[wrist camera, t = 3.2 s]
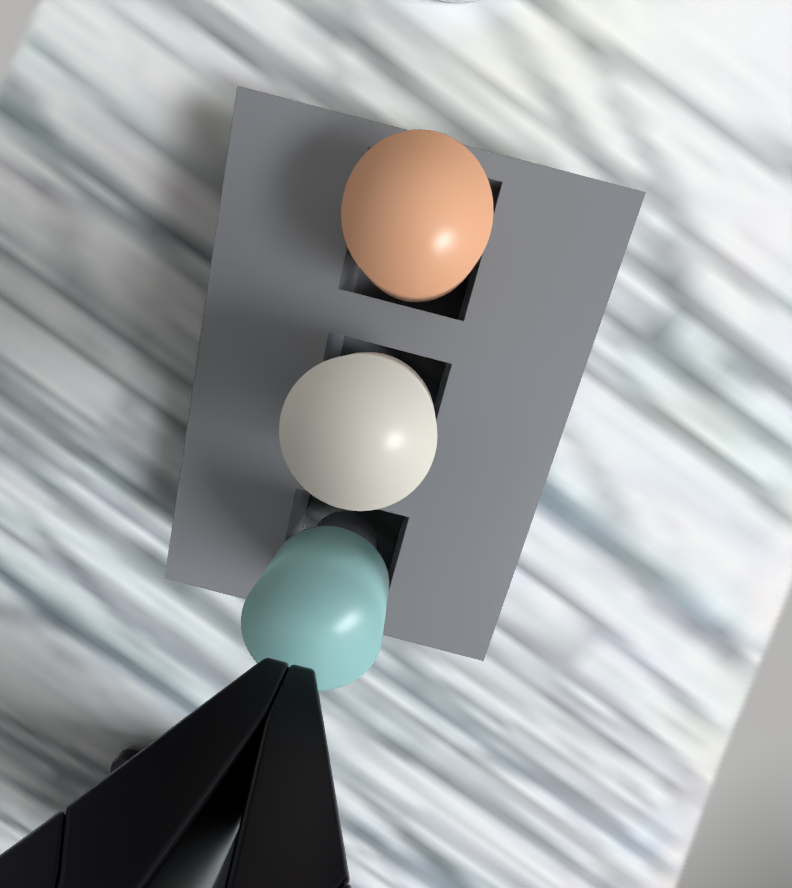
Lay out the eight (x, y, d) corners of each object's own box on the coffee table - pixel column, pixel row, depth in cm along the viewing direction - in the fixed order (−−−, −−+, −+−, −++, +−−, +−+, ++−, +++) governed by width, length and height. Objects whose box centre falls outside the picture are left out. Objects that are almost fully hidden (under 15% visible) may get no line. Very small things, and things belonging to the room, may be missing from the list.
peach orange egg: (454, 319, 13) (469, 311, 9) (356, 294, 13) (326, 274, 9) (483, 212, 12) (513, 151, 8) (380, 185, 12) (360, 111, 8)
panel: (474, 610, 15) (483, 660, 13) (204, 540, 15) (164, 578, 13) (602, 220, 12) (645, 192, 10) (273, 134, 12) (237, 86, 10)
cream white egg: (417, 467, 12) (414, 527, 8) (315, 441, 12) (265, 488, 8) (445, 365, 12) (456, 378, 8) (338, 337, 12) (295, 336, 8)
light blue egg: (381, 597, 13) (364, 705, 9) (287, 572, 13) (230, 670, 9) (405, 508, 13) (398, 585, 9) (306, 483, 13) (254, 547, 9)
